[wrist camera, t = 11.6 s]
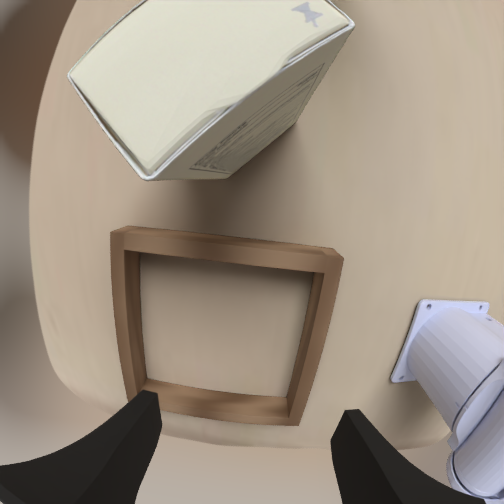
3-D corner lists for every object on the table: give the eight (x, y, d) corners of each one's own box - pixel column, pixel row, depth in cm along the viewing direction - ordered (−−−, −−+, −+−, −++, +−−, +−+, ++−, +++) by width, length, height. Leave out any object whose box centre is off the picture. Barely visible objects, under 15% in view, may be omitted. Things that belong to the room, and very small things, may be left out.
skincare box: (254, 75, 15) (249, -63, 3) (299, 122, 16) (370, 21, 4) (178, 136, 16) (56, 74, 5) (221, 185, 17) (144, 187, 5)
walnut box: (333, 248, 18) (343, 258, 15) (295, 405, 21) (298, 425, 19) (127, 225, 18) (110, 231, 15) (137, 383, 21) (128, 401, 19)
